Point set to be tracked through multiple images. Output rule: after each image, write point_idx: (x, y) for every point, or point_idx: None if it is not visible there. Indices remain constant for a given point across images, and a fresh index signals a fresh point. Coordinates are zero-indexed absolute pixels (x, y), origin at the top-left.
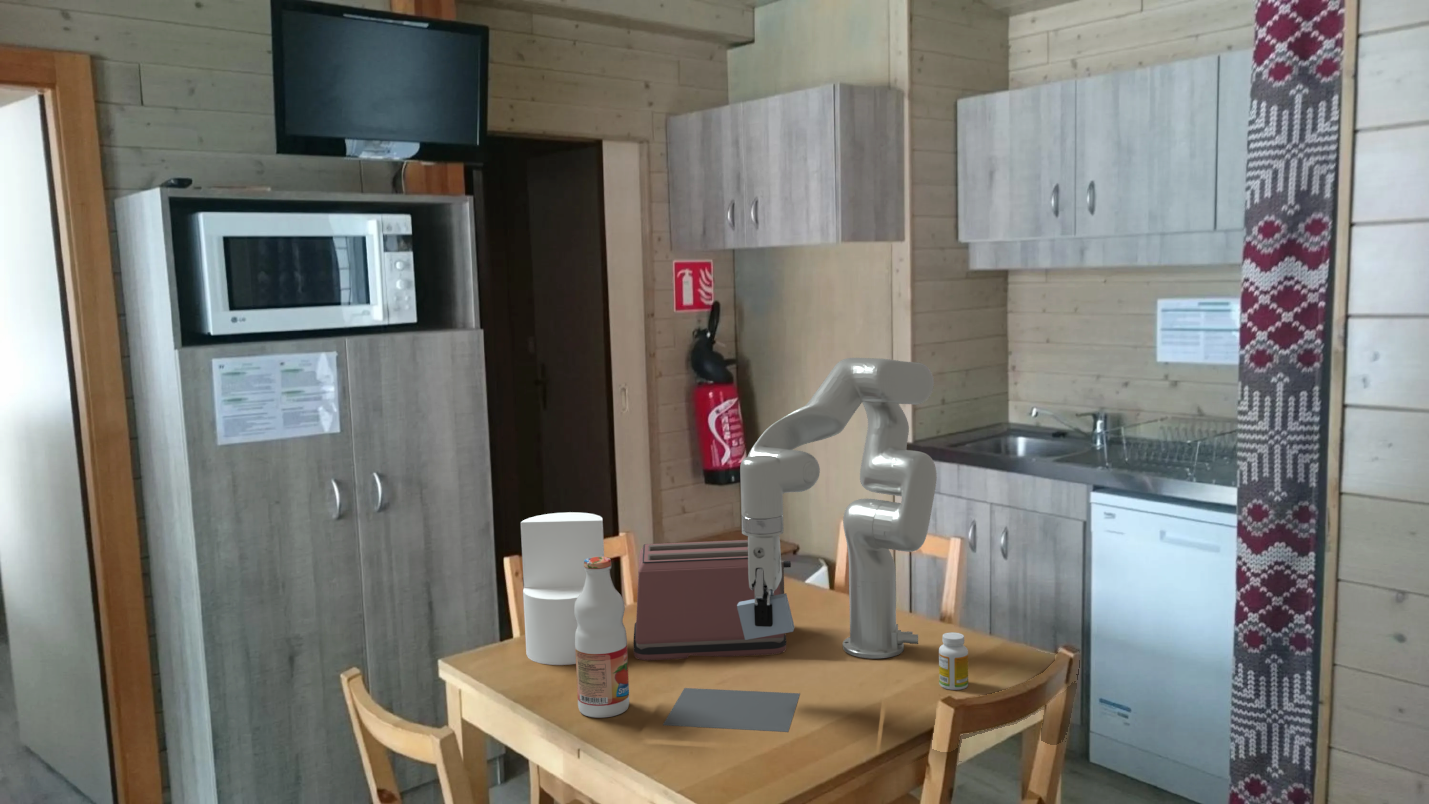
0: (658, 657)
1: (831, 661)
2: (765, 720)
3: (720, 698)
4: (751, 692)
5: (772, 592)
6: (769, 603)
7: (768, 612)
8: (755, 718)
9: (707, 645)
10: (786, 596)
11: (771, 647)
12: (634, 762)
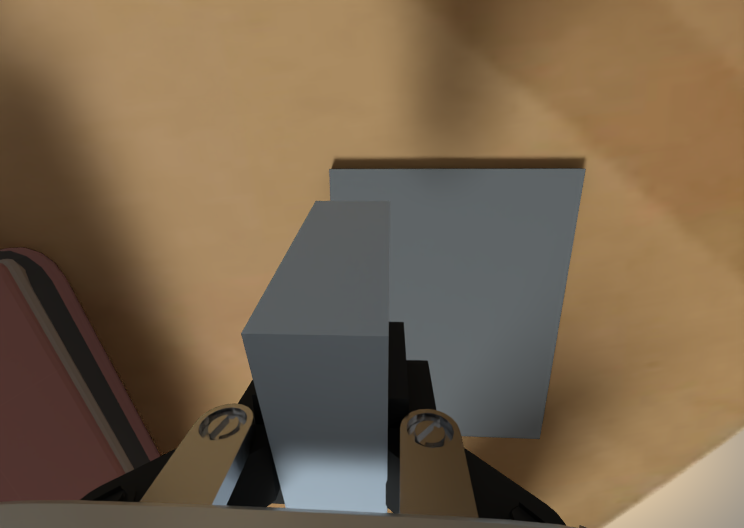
0: None
1: (55, 109)
2: (514, 235)
3: None
4: None
5: (239, 456)
6: (458, 432)
7: (408, 385)
8: (501, 261)
9: (116, 432)
10: (283, 317)
11: (49, 284)
12: (688, 451)
